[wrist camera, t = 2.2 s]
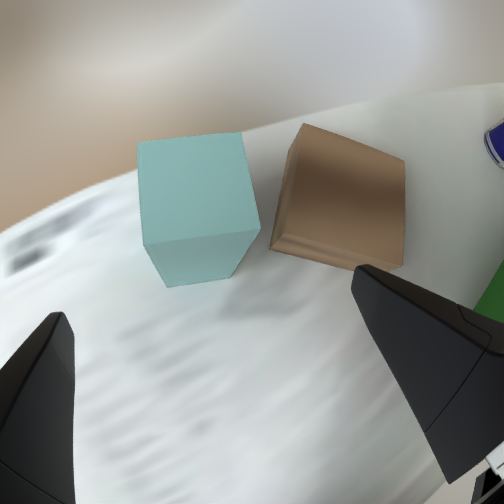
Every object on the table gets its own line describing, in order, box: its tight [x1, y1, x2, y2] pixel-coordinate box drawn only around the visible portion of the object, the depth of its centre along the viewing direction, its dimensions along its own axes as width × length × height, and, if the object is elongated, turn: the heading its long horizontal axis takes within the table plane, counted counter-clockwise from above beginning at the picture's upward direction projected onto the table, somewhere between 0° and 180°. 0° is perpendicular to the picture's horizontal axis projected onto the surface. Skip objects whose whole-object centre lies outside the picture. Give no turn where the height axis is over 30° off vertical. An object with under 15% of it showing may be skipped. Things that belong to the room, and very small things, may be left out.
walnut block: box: [269, 123, 405, 272], centre depth 22 cm, size 8×8×4 cm
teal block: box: [137, 132, 261, 288], centre depth 16 cm, size 4×4×10 cm
